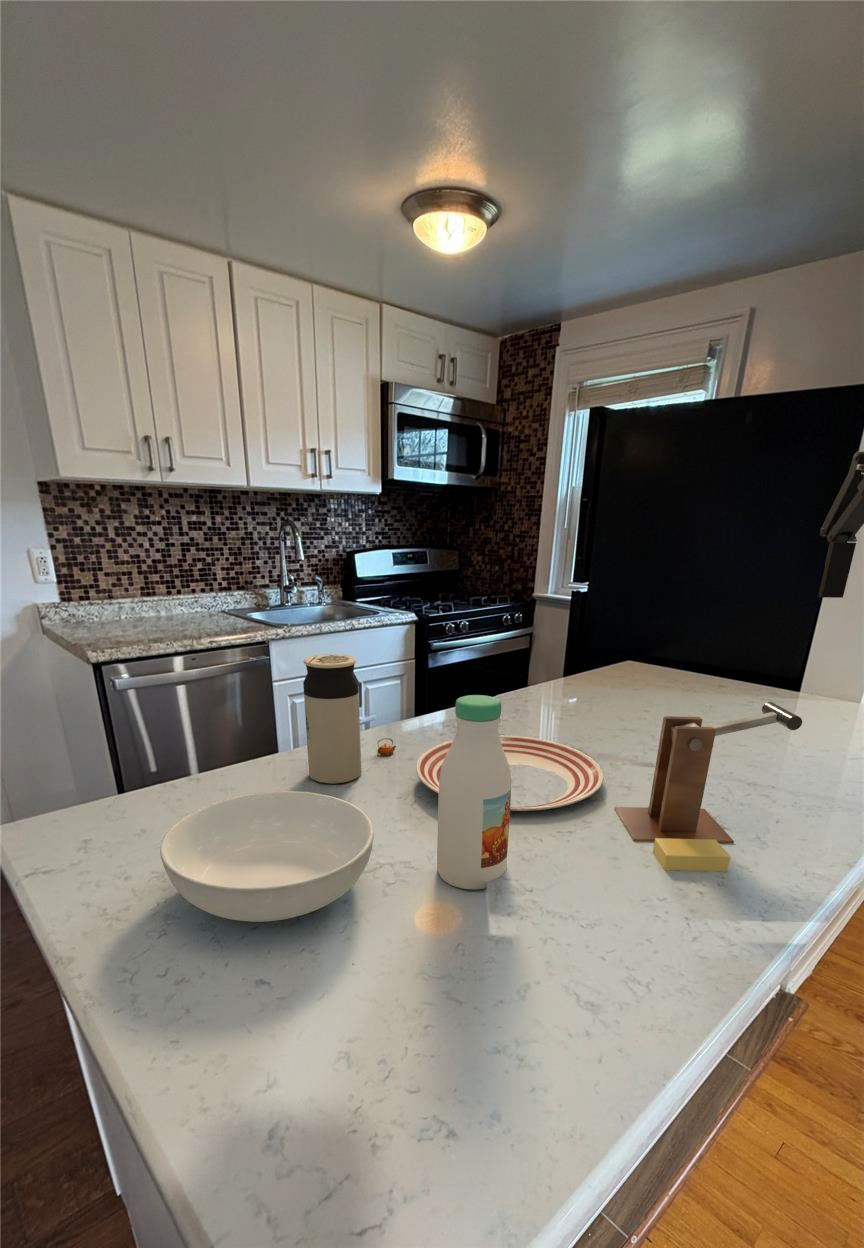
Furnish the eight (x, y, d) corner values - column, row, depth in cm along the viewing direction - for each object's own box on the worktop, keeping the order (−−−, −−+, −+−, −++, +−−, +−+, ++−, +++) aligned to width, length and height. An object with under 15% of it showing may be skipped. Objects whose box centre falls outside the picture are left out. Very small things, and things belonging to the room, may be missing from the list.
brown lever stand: (702, 818, 82) (723, 712, 76) (731, 852, 73) (758, 735, 68) (613, 816, 82) (627, 710, 76) (632, 849, 73) (650, 733, 68)
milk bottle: (455, 898, 63) (460, 713, 56) (426, 862, 70) (428, 693, 63) (518, 882, 66) (532, 705, 59) (485, 850, 73) (493, 687, 65)
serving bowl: (284, 982, 51) (277, 914, 49) (124, 909, 61) (112, 848, 58) (411, 870, 68) (411, 815, 66) (271, 826, 78) (266, 776, 75)
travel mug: (367, 767, 97) (364, 655, 90) (352, 787, 90) (348, 666, 83) (319, 763, 98) (313, 652, 92) (301, 782, 91) (293, 663, 84)
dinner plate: (592, 841, 75) (595, 817, 74) (387, 807, 83) (387, 785, 82) (607, 765, 99) (609, 746, 98) (447, 745, 108) (448, 727, 106)
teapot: (381, 749, 105) (380, 735, 104) (397, 752, 104) (397, 737, 103) (373, 755, 102) (373, 740, 101) (390, 757, 101) (390, 742, 100)
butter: (711, 862, 71) (715, 839, 70) (725, 880, 67) (731, 856, 66) (650, 860, 71) (654, 837, 70) (662, 879, 67) (666, 855, 66)
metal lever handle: (776, 716, 75) (775, 697, 74) (802, 731, 69) (802, 711, 68) (667, 740, 76) (665, 722, 75) (684, 757, 71) (682, 738, 70)
